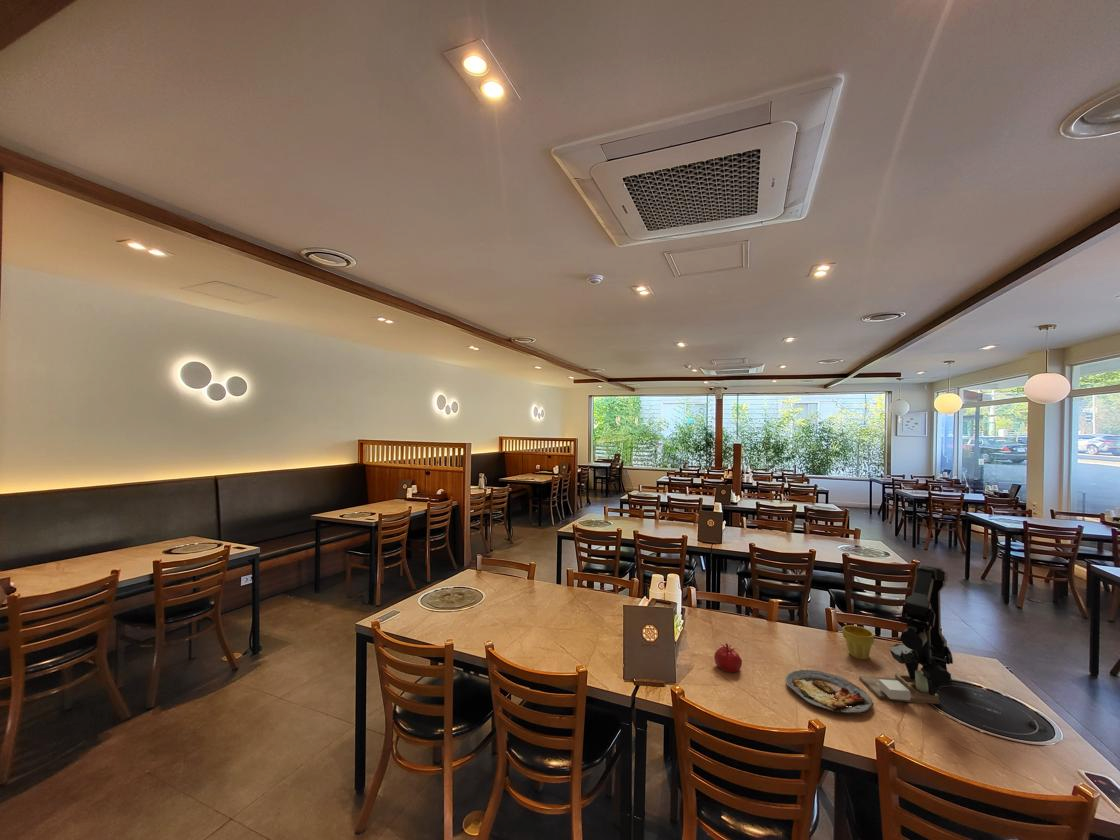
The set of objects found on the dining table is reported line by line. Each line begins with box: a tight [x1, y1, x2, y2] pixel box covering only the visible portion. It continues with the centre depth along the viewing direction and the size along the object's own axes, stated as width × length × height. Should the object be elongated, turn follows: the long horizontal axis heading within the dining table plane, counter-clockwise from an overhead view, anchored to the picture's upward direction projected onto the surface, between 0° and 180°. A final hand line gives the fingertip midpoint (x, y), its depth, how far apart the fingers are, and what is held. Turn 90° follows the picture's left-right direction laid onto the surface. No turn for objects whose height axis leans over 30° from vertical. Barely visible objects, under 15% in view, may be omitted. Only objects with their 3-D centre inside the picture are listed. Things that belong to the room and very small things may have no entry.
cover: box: [879, 679, 910, 700], centre depth 140 cm, size 6×6×3 cm
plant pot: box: [842, 624, 875, 660], centre depth 169 cm, size 10×10×10 cm
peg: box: [915, 669, 928, 693], centre depth 141 cm, size 3×3×7 cm
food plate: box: [785, 669, 874, 714], centre depth 143 cm, size 25×23×4 cm
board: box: [858, 673, 940, 705], centre depth 144 cm, size 12×18×3 cm, turn 81°
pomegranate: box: [713, 642, 743, 673], centre depth 160 cm, size 10×10×9 cm
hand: (922, 687), depth 141 cm, fingers open, 9 cm apart
